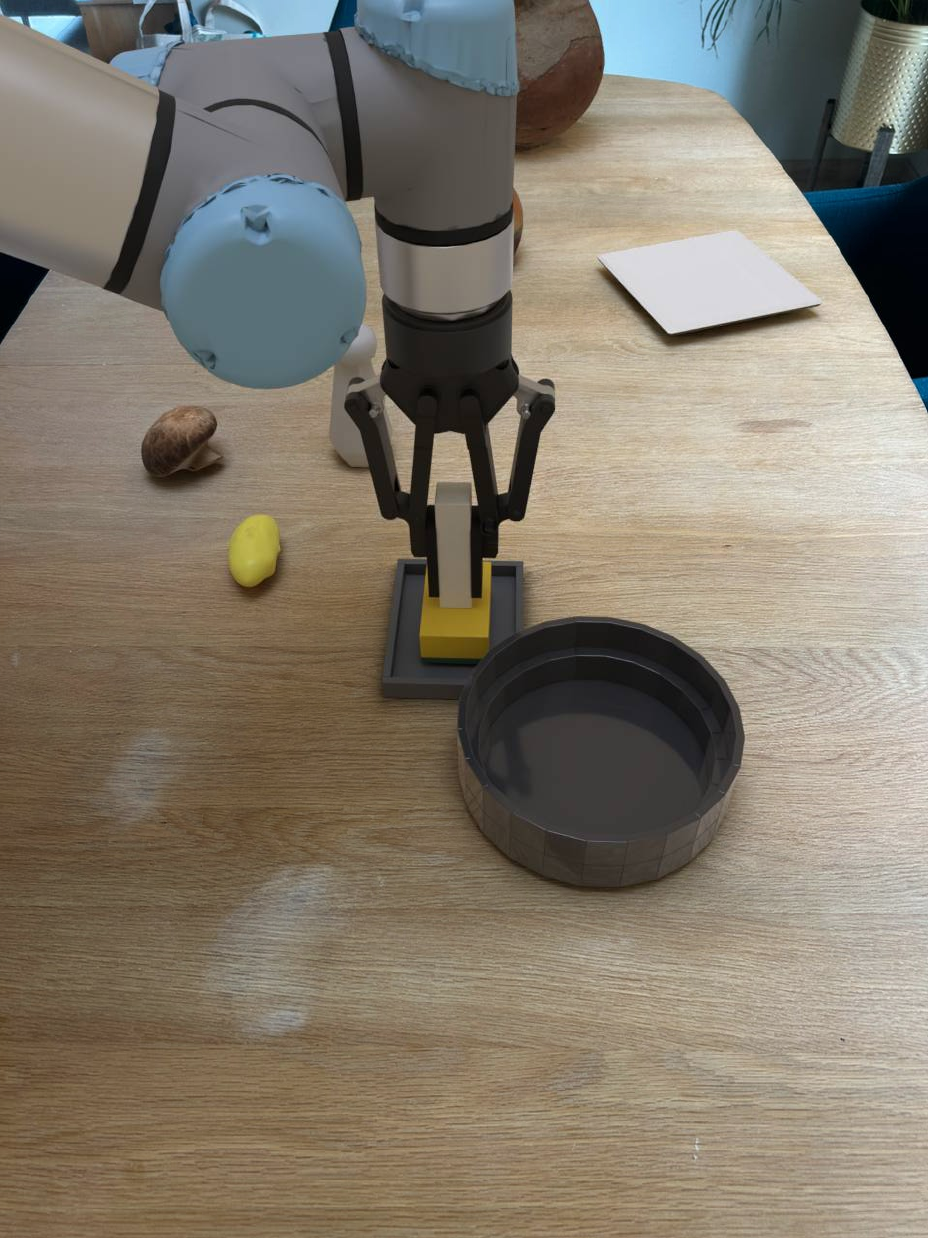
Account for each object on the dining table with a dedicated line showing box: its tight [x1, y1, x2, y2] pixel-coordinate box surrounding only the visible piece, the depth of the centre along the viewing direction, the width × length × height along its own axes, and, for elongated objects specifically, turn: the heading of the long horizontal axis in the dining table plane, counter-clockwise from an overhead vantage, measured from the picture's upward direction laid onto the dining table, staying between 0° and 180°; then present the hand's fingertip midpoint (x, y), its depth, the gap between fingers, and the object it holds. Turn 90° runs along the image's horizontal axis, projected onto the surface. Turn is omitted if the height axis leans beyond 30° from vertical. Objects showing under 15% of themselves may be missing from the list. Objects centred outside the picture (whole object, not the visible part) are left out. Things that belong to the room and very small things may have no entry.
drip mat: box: [381, 558, 524, 700], centre depth 77 cm, size 13×10×2 cm
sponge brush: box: [419, 481, 491, 664], centre depth 72 cm, size 8×5×13 cm, turn 177°
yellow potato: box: [227, 514, 282, 588], centre depth 82 cm, size 4×8×4 cm, turn 175°
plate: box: [596, 229, 824, 337], centre depth 113 cm, size 19×19×2 cm
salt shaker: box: [328, 322, 394, 468], centre depth 89 cm, size 6×6×13 cm
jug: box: [513, 0, 606, 152], centre depth 135 cm, size 22×22×30 cm
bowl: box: [456, 615, 746, 888], centre depth 66 cm, size 18×18×6 cm
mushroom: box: [140, 405, 224, 478], centre depth 91 cm, size 8×8×6 cm
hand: (456, 584), depth 74 cm, fingers closed on sponge brush, 2 cm apart
